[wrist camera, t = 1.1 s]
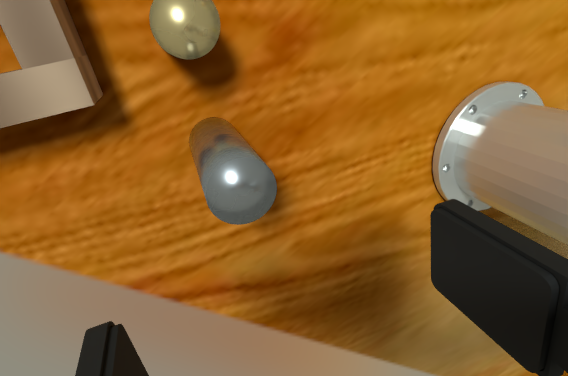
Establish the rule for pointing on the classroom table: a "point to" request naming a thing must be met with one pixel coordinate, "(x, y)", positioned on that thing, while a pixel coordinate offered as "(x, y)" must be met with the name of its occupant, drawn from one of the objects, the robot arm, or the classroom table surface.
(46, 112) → the beige socket block
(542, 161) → the robot arm
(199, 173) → the long steel pin
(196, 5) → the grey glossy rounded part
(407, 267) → the classroom table surface
